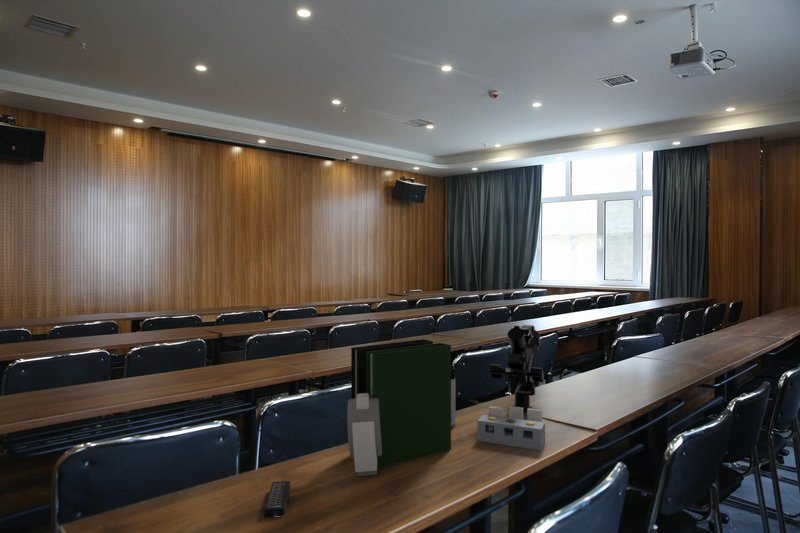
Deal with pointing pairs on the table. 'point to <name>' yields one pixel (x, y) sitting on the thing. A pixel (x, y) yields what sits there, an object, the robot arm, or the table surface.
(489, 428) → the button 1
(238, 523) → the table surface
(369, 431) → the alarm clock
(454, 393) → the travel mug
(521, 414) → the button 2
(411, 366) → the binder
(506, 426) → the console
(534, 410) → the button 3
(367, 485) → the table surface
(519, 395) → the robot arm
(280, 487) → the multiport hub
